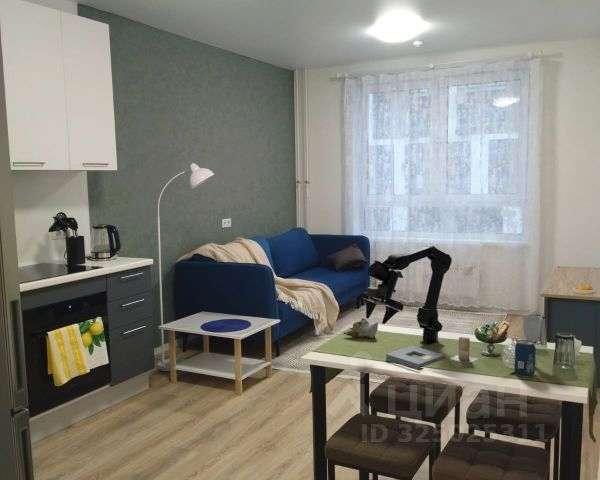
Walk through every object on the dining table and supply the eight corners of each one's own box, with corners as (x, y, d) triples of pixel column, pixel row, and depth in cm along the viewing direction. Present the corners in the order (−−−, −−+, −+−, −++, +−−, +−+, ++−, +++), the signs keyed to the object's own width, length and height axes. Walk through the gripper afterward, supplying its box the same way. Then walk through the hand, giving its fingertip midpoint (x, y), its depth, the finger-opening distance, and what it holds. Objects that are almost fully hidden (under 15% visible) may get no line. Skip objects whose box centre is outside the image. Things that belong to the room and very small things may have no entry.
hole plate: (412, 351, 233) (412, 345, 233) (444, 361, 221) (444, 354, 220) (386, 360, 223) (386, 353, 222) (418, 370, 210) (418, 363, 210)
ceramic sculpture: (374, 321, 247) (341, 320, 253) (375, 341, 248) (343, 339, 254) (380, 316, 257) (349, 315, 263) (381, 334, 257) (350, 333, 263)
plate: (461, 357, 224) (461, 354, 224) (478, 362, 218) (478, 358, 218) (449, 362, 219) (449, 358, 219) (466, 367, 213) (467, 363, 213)
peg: (462, 356, 221) (462, 336, 220) (471, 358, 218) (471, 338, 217) (456, 358, 219) (456, 338, 218) (465, 361, 216) (465, 340, 215)
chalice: (541, 362, 217) (542, 316, 215) (540, 368, 211) (542, 320, 209) (520, 360, 220) (522, 314, 218) (519, 365, 214) (521, 319, 212)
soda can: (519, 369, 210) (520, 338, 209) (538, 374, 205) (539, 341, 204) (510, 374, 205) (511, 342, 204) (529, 379, 200) (530, 346, 199)
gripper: (359, 274, 231) (346, 310, 229) (392, 282, 216) (378, 321, 214) (376, 282, 238) (364, 317, 236) (410, 291, 223) (396, 329, 221)
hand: (375, 321), depth 227 cm, fingers open, 9 cm apart
